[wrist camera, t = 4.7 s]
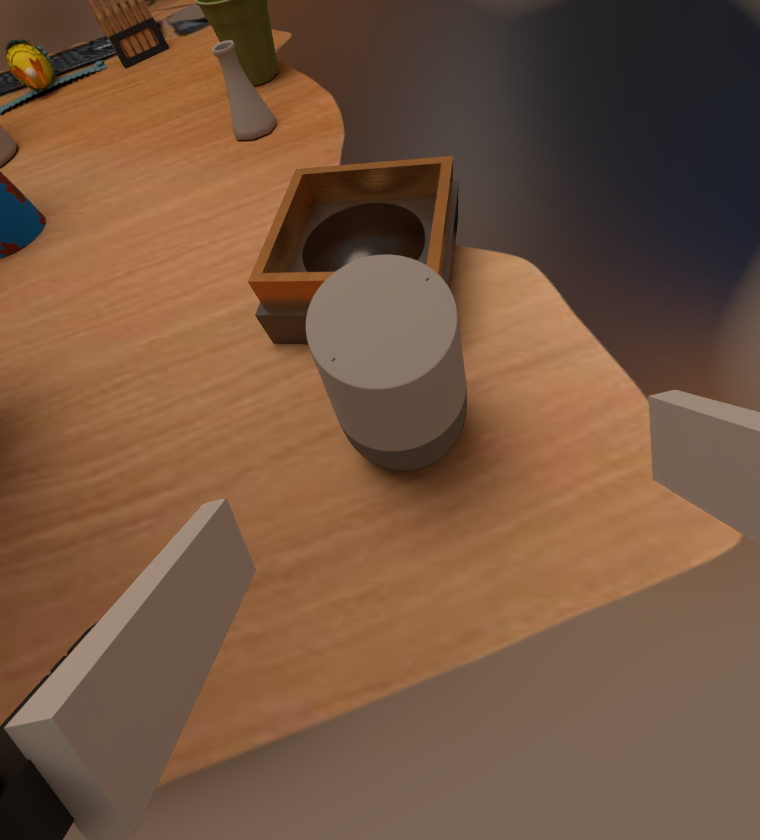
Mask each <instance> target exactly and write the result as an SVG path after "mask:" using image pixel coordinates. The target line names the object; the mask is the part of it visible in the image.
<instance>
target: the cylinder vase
mask: <svg viewBox="0 0 760 840" xmlns="http://www.w3.org/2000/svg"><path fill="white" fill-rule="evenodd" d="M16 149H17V146H16V143H15V141H14V140H13V139H12V137H11V136H10V135H9V134H8V133H7V132H6V131H5V130H4V129H3V128H2V127H1V125H0V167H1V166H2V165H4V164H5V163H6V162H8V161H9V160H10V159H11V158H12V156H13V155H14V154H15V152H16Z"/></svg>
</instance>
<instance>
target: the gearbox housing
mask: <svg viewBox="0 0 760 840" xmlns="http://www.w3.org/2000/svg"><path fill="white" fill-rule="evenodd" d="M458 189H459V182H458V181H455V182H453V156H445V157H434V158H422V159H410V160H399V161H387V162H376V163H363V164H351V165H339V166H327V167H315V168H304V169H296V170H295V173H294V175H293V177H292V180H291V182H290V185H289V187H288V189H287V192H286V194H285V196H284V199H283V201H282V203H281V206H280V208H279V210H278V213H277V215H276V217H275V220H274V222H273V224H272V227H271V229H270V231H269V234H268V236H267V238H266V241H265V243H264V245H263V248H262V250H261V252H260V255H259V257H258V260H257V262H256V264H255V267H254V269H253V271H252V274H251V276H250V278H249V281H248V283H249V284H250V286H251V287H252V289H253V291H254V292H255V294H256V296H257V297H258V299H259V301H260V305H259V307H258V310H257V312H256V315H255V316H256V317H257V319H258V320H259V322H260V324H261V325H262V327H263V328H264V330H265V331H266V333H267V334H268V336H269V337H270V339H271V340H272V342H273V343H284V344H308V341H307V336H306V317H307V312H308V308H309V305H310V303H311V300H312V298H313V296H314V295H315V293H316V292H317V290H318V289H319V287H320V286H321V285H322V284H323V283H324V281H325V280H326V279H327V278H328V277H329V276H331V275H332V274H333V273H334V272H336V271H337V270H339V269H340V268H342V267H343V266H345V265H347V264H349V263H351V262H353V261H355V260H358V259H361V258H364V257H368V256H373V255H398V256H404V257H408V258H411V259H414V260H417V261H419V262H421V263H423V264H425V265H427V266H428V267H430V268H431V269H433V270H434V271H435V272H436V273H437V274H438V275H439V276H440V277H441V278H442V279H443V280H444V281H445V283H446V284H447V285H448V287H449V289H451V280H452V270H453V261H454V251H455V241H456V232H457V223H458V192H459V190H458Z"/></svg>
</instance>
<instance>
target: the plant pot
mask: <svg viewBox="0 0 760 840" xmlns="http://www.w3.org/2000/svg"><path fill="white" fill-rule="evenodd" d="M194 2H195V3H196V4H197V5H199V6H200V7H201V9H202V11H203V13H204V15H205V17H206V18H207V20H208V22H209V23H210V24H211V26H212V27H213V29H214V31H215V33H216V35H217V37H218V39H219V41H220V42H223V41H228V40H233V42H234V44H235V49H234V50H235V53H236V56H237V58H238V61H239V63H240V65H241V67H242V69H243V71H244V72H245V74H246V76H247V78H248V79H249V81H250V82H251V84H252V85H256V86H257V85H260V84H262V83H266V82H269V81H270V80H271V79H273V77H274V75H275V74H277V73H278V65H277V59H276V53H275V48H274V42H273V37H272V31H271V26H270V20H269V15H268V9H267V0H194Z"/></svg>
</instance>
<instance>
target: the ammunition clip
mask: <svg viewBox="0 0 760 840" xmlns="http://www.w3.org/2000/svg"><path fill="white" fill-rule="evenodd" d="M87 1H88V3H89V5H90V7H91V8H92V10H93V12H94V14H95V16H96V18H97V21H98V22H99V24H100V26H101V27H102V29H103V31H104V32H105V34H106V36H107V38H108V39H109V41H110V43H111V44H112V46H113V48H114V50H115V51H116V53H117V55H118V57H119V59H120V61H121V62H122V64H123V66H124V67H125V68H129V67H131V66H133V65H135V64H137V63H139V62H141V61H144V60H146V59H148V58H150V57H152V56H154V55H156V54H159V53H161V52H163V51H165V50H167V49H169V47H168V45H167V43H166V41H165V39H164V37H163V35H162V34H161V32H160V30H159V28H158V26H157V24H156V22H155V21H154V19H153V17H152V15H151V13H150V11H149V9H148V7H147V5H146V3H145V1H144V0H136V2H137V4H138V6H139V7H138V6H137V4H136V2H135V0H127V2H128V5H129V6H128V5H127V3H126V2H125V0H117V1H118V3H119V5H120V8H121V10H122V11H121V10H120V8H119V7H118V5H117V4H116V2H115V0H108V2H109V4H110V6H111V8H112V11H113V13H114V15H115V17H116V18H115V17H114V15H113V13H112V12H111V10H110V9H109V7H108V6H107V4H106V3H105V1H104V0H97V1H98V2H99V4H100V6H101V8H102V10H103V12H104V15H105V17H106V18H105V17H104V15H103V14H102V13H101V11H100V10H99V8H98V7H97V5H96V3H95V2H94V0H87ZM129 7H130V8H129ZM139 8H140V9H139ZM130 9H131V10H130ZM140 10H141V11H140ZM131 11H132V12H131ZM122 12H123V13H122ZM141 12H142V13H141ZM132 13H133V14H132ZM123 14H124V15H123ZM142 14H143V15H142ZM133 15H134V16H133ZM124 16H125V17H124ZM143 16H144V17H143ZM134 17H135V18H134ZM125 18H126V19H127V20H126V19H125ZM106 19H107V20H108V22H109V24H110V25H109V24H108V22H107V20H106ZM116 19H117V20H118V22H119V24H120V25H119V24H118V22H117V20H116ZM135 19H136V20H135ZM127 21H128V22H127ZM128 23H129V24H128ZM110 26H111V27H112V29H113V30H112V29H111V27H110ZM120 26H121V27H120ZM149 28H150V29H149ZM150 30H151V31H150ZM113 31H114V32H113ZM142 32H143V33H142ZM151 32H152V33H151ZM134 34H135V35H134ZM143 34H144V35H143ZM135 36H136V37H135ZM127 38H128V40H129V41H128V40H127ZM136 38H137V39H136ZM129 42H130V43H129ZM120 43H121V44H120ZM139 43H140V44H139ZM148 43H149V44H148ZM130 44H131V45H130ZM121 45H122V46H121ZM140 45H141V46H140ZM149 45H150V46H149ZM131 46H132V47H133V48H132V47H131ZM122 47H123V48H124V49H123V48H122ZM141 47H142V48H141ZM133 49H134V50H133ZM124 50H125V51H124ZM134 51H135V52H134ZM125 52H126V53H125ZM127 55H128V56H127Z"/></svg>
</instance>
